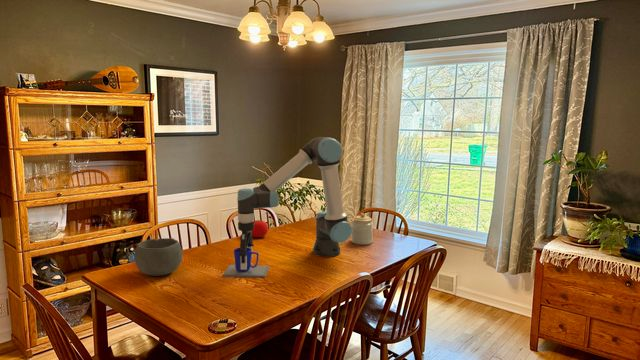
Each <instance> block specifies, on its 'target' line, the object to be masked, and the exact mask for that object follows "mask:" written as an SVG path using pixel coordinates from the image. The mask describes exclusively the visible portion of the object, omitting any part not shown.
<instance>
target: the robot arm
mask: <svg viewBox="0 0 640 360" xmlns="http://www.w3.org/2000/svg"><path fill="white" fill-rule="evenodd" d="M342 155H343V147H342V145H341V143H340V142H339V140H338V139H337V140H336V139H335V138H333V137H330V136H329V137H327V136H325V137H324V136H317V137H314V138H313V139H311V140H310V141H309V142H307V143H306V144H305V145H304V146H303V147H301V148H300V149H299V150H298V153H297V154H295V156H293V157H292V158H290V160H289V161H288V162H286V163H285V164H284V165H283V166H281V167H280V168H279V169H278V170H276V172H274V173H273V174H272V175H271V176H270V177H269V178H267V179H266V180H265V181H263V182H262V183H261V184H259V185H258V186H255V187H253V188H245V187H244V188H240V189H238V190H237V198H236V199H237V214H236V217H237V221H238V222H237V230H238V231H240V232H242V233H241V234H240V242H239V243H240V244H239V248H240V253H239V256H240V259H241V270H247V256H246V251H247V248H250V249H251V252H253V247H254V246H255V245H254V243H253V242H254V241H253V236H252V232H251V230H253V229H254V222H253V221H255V209H269V208H271V209H272V208H276V207H278V206H279V204H280V203H279V202H280V196H279V194H278V192H277V191H278V190H279V189H280V188H281V187H283V186H284V185H285V184H286V183H287V182H289V181H290V180H291V179H293V178H294V176H296V175H297V174H298V173H300V171H302V170H304V168H305V167H306V166H308V165H312V164H313V163H314V162H316V166H317V167H318V168H319V169H320V172H321V173H320V174H321V180H322V181H321V182H322V186H323V194H324V202H325V208H326V209H325V211H319V212H317V213H316V217H315V221H316V222H315V225H316V226H315V236H316V237H315V241H314V244H313V248H312V254H313V255H315V256H317V257H318V256H319V257H324V258H325V257H336V256H339V255H340V254H341V247H340V244H341V243H345V242H347V241H348V240H349V238H350V237H352V225H351V223H350V222H348V221H349V220H348V214H347V213H346V212H345V211H344V206H343V205H344V204H343V199H342V198H343V197H342V190H341V189H342V188H341V183H340V182H341V181H340V176H339V165H340V164H341V156H342ZM339 243H340V244H339ZM242 253H244V254H242ZM252 260H253V254H252V255H251V261H252Z"/></svg>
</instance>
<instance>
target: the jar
mask: <svg viewBox="0 0 640 360" xmlns="http://www.w3.org/2000/svg"><path fill="white" fill-rule="evenodd" d="M351 224H352V225H351V227H352V234H351V236H350V237H351V238H350V239H351V243H353V244H356V245H361V246H362V245H365V246H366V245H370V244H372V243H373V240H374V237H373V234H374V233H373V232H374V227H373V225H374V222H373V218H371V217H370V216H367V215H366V214H365V213H364V212H361V213H360V215H357V216H355V217H353V218H352V221H351Z"/></svg>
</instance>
